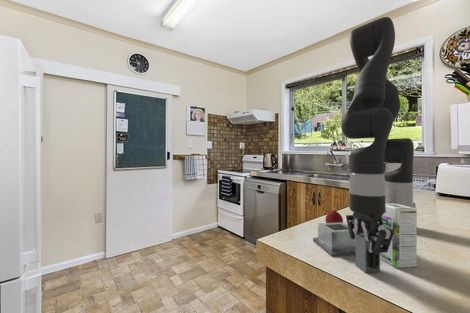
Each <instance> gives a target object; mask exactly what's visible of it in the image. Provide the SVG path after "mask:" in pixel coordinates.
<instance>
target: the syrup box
mask: <svg viewBox="0 0 470 313" xmlns="http://www.w3.org/2000/svg"><path fill="white" fill-rule="evenodd" d="M417 211H418V210H417V208H411V207H407V206H404V205H400V204H394V203H386V212H385V213H384V214H383V215H382V221H383V226H384V227H385V228H386V229H391V230H393V232H394V234H393V237H392V240H391V243H390V246H389V249H388V252H387V253H380V260H382V261H384V262H386V263H387V264H390V265H391V266H392V267H394V268H395V269H398V268H400V269H402V268H413V267H414V268H415V267H417V253H418V252H417V249H418V248H417V243H418V241H417V240H418V239H417V237H418V236H417V234H418V233H417V231H418V228H417V227H418V226H417V225H418V224H417V223H418V220H417V216H418V212H417ZM382 246H383V245H382ZM382 246H381V247H382Z"/></svg>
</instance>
